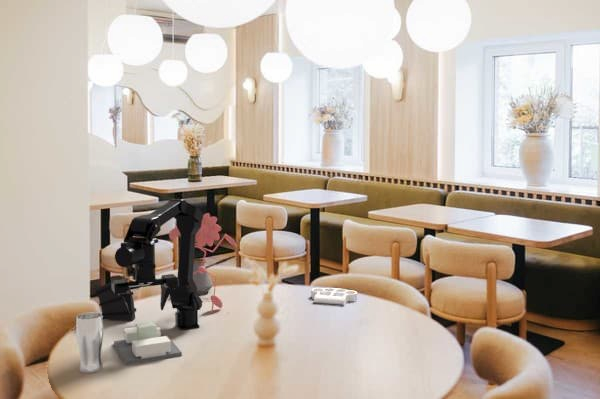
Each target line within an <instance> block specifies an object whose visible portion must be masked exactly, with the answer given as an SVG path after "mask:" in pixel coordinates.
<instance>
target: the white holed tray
mask: <svg viewBox="0 0 600 399" xmlns="http://www.w3.org/2000/svg"><path fill="white" fill-rule="evenodd" d="M310 291H311V292H310V294H311V295H310V298H311V297H312V298H311V299H313V302H314V303H317V304H318V303H319V304H329V305H340V306H346V304H347V303H349V302H348V301H354V300H357V301H358V291H356V290H353V289H350V290H349V289H346V288H338V287H337V288H335V287H315V288H311V289H310ZM354 302H355V301H354Z"/></svg>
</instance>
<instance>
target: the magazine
mask: <svg viewBox="0 0 600 399" xmlns="http://www.w3.org/2000/svg"><path fill="white" fill-rule="evenodd" d="M120 279H126V281H127V282H128V281H129V279H128V277H126V275H123V276H120V277H118V278H116V279H115V280H120ZM112 281H113V280H112ZM112 281H111V280H110V281H109V282H107V283H105V284H103V285H101V286H98V287H97V288H95V289H94V291H95V292H94V296H96V297H97V298H98V300H99V304H98V305H99V306H101V312H100V313H101V314H102V320H103V319H111V320H110V321H120V320H121V322H122V321H125V322H132V321H134V320H135V319H136V312H137V307H135V302H134V298H133V295H134V291H131V288H129V290H128V292H129V293H130V298H131V307H132V314H130V313H129V311H128V308H127V305H126V303H125V300H124V298H123V296H119V295H118V294H115V293H114V292H113V290H112V287H111V283H112Z"/></svg>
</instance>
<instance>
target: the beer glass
mask: <svg viewBox="0 0 600 399" xmlns="http://www.w3.org/2000/svg"><path fill="white" fill-rule="evenodd" d="M101 313H102V312H95V311H92V312H83V313H79V314H78V315H77V316H76V325H75V331H76V332H75V334H76V335H75V336H76V341H77V345H78V349H79V350H78V351H79V355H80V361H79V362H80V363H79V364H80V365H79V369H78V370H79V372H81V373H84V374H93V373H98V372H100V371H101V370H102V369H104V368H103V367H104V365H103V362H102V347H103V342H104V322H103V321H104V320H103V319H102V314H101Z"/></svg>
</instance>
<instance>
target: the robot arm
mask: <svg viewBox="0 0 600 399" xmlns="http://www.w3.org/2000/svg"><path fill="white" fill-rule="evenodd" d="M203 215H204V214H203V212H202V210H201V209H200V208H199V207H197V206H196V205H193V204H191V203H188V202H187V200H184V199H180V198H171V199H169V200H168V202H166V203H164V204H163V205H161V206H160V207H158V208H157V209H155V210H154V211H152V212H151V213H148V214H142V215H138V216H135V217H133V218H132V220H131V222H130V224H129V225H128V229H127V232H126V233H125V237H124V239H123V242H120V247H119V248H117V249H116V252H115V254H114V260H115V263H116V264H117V265H118V266H120V267H121V268H125V277H126V278H128V277H132V280H133V281H128V280H127V281H126V279H120V280H116V279H113V280H112V283H111V287H112V290H113V292H114V293H115V294H118V295H119V296H123V298H124V300H125V303H126V305H127V308H128V311H129V313H130V314H132V307H131V298H130V293H129V292H128V290H129V288H130V289H136V288H144V287H145V288H146V287H155V286H160V289H161V290H160V291H161V292H160V311H163V310H164V308H165V306H166V304H167V301H168V299H170V303H171V307H172V309H176V312H175V313H174V316H175V317H174V318H175V321H174V322H175V326H177V328H178V329H179V330H180V331H181V330H189V329H190V330H191V329H195V328H200V325H199V319H198V318H199V316H198V312H199V310H200V311H201V309H202V307H203V302H202V301H203V300H202V298H201V297H200V296H199V294H197V286H196V284H195V282H194V280H193V266H194V259H195V249H196V247H195V246H196V242H195V237H196V234H197V232H198V231H199V229H200V228H201V224H202V220H203ZM173 218H174V220H175V224H176V225H175V227H177V228H178V230H179V232H180V235H179V249H178V251H179V252H178V262H177V263H178V266H177V276H176V275H175V274H174V273H169V274H161V278H156V268H157V267H156V266H157V265H156V251H155V250H156V248H155V246H156V245H155V244H157V243H159V239H158V238H156V236H157V235H158V234H159V233H160V231H161V230H162V229H161V228H162V226H163V225H164V224H167V223H168V222H169V221H170V220H172V219H173Z"/></svg>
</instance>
